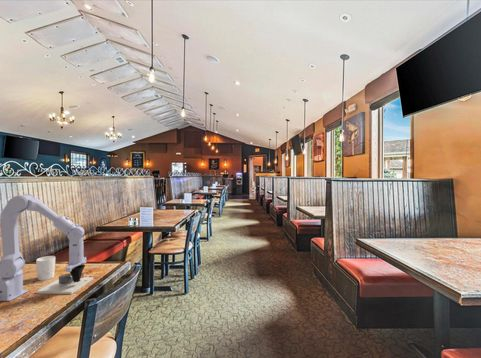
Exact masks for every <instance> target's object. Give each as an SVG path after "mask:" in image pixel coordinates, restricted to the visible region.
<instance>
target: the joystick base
mask: <svg viewBox="0 0 481 358" xmlns="http://www.w3.org/2000/svg"><path fill="white" fill-rule="evenodd" d="M93 280H94V277H93V276H86V277H85V276H84V278H80V281H79V282H74V281H72V282H70V283H66V284H60V283H59V278H57V279H56V280H53V281H52V282H50V283H48V284H47V285H45V286H43V287H42V288H39V289H38V290H36V292H35V293H36V294H39V295H43V294H44V295H45V294H46V295H47V294H49V295H50V294H51V295H72V294H74V293H75V292H77V291H78V290H80V289H81V288H82V287H84V286H85V285H87V284H88V283H90V282H92V281H93Z"/></svg>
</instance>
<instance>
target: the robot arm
mask: <svg viewBox="0 0 481 358" xmlns="http://www.w3.org/2000/svg"><path fill="white" fill-rule="evenodd" d="M6 202H7V203H6V205H5V207H4V208H3V209H2V211H1V213H0V219H1V220H0V221H1V237H2V239H1V240H2V256H1V259H0V302H11V301H13V300H14V299H16V298H18V297H20V296H22V295H24V294H26V293H28V292H29V289H24V271H23V268H24V267H25V265H26V260H25V259H24V258H23V253H22V252H21V251H20V240H19V239H20V238H19V223H18V221H19V219H18V216H19V215H21V214H22V213H24V211H27V212H28V211H31V212H37V213H39V214H41V215H42V216H44V217H45V218H47V219H48V220H50V222H52V223H53V224H52V225H53V227H54V228H56V229H58V230H59V231H60V232H61V233H63V234H65V235H66V236H67V239H68V241H69V243H68V244H69V245H68V247H69V248H68V261H69V262H68V264H67V266H65V272H66V273H71V275H72V278H73V281H74V282H79V281H80V278H81V274H82V272H84V268H85V267H86V265H85V264H86V263H87V256H84V255H85V254H84V253H85V252H84V249H85V248H84V246H85V245H84V234H85V229H84V228H83V226H82V225H79V224H78V223H74V222H73V221H72V220H70V217H69V216H64V215H58V214H57V212H55V211H54V210H52V209H51V208H50V207H48V206H47V205H46V204H45V203H44V202H42V201H41V200H40V199H39V198H37V197H35V196H34V195H33V194H30V193H27V194H26V193H25V194H22V195H16V196H13V197H11V198H10V199H8V200H7V201H6Z"/></svg>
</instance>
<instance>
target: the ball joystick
mask: <svg viewBox="0 0 481 358" xmlns="http://www.w3.org/2000/svg"><path fill="white" fill-rule="evenodd" d="M84 277H85V272H84V271H82V274H81V278H84ZM58 279H59V283H60V284H66V283H70V282H72V281H73V278H72V275H71V273H70V272H68V273H64V274H61V275H59V276H58Z"/></svg>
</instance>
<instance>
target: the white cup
mask: <svg viewBox="0 0 481 358" xmlns="http://www.w3.org/2000/svg"><path fill="white" fill-rule="evenodd" d="M35 262H36V273H37V280H38V281H47V280H50V279H53V278H54V277H55V273H56V272H55V271H56V256H55V255H47V256H46V255H45V256H41V257H39V258H37V259H36V260H35Z"/></svg>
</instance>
